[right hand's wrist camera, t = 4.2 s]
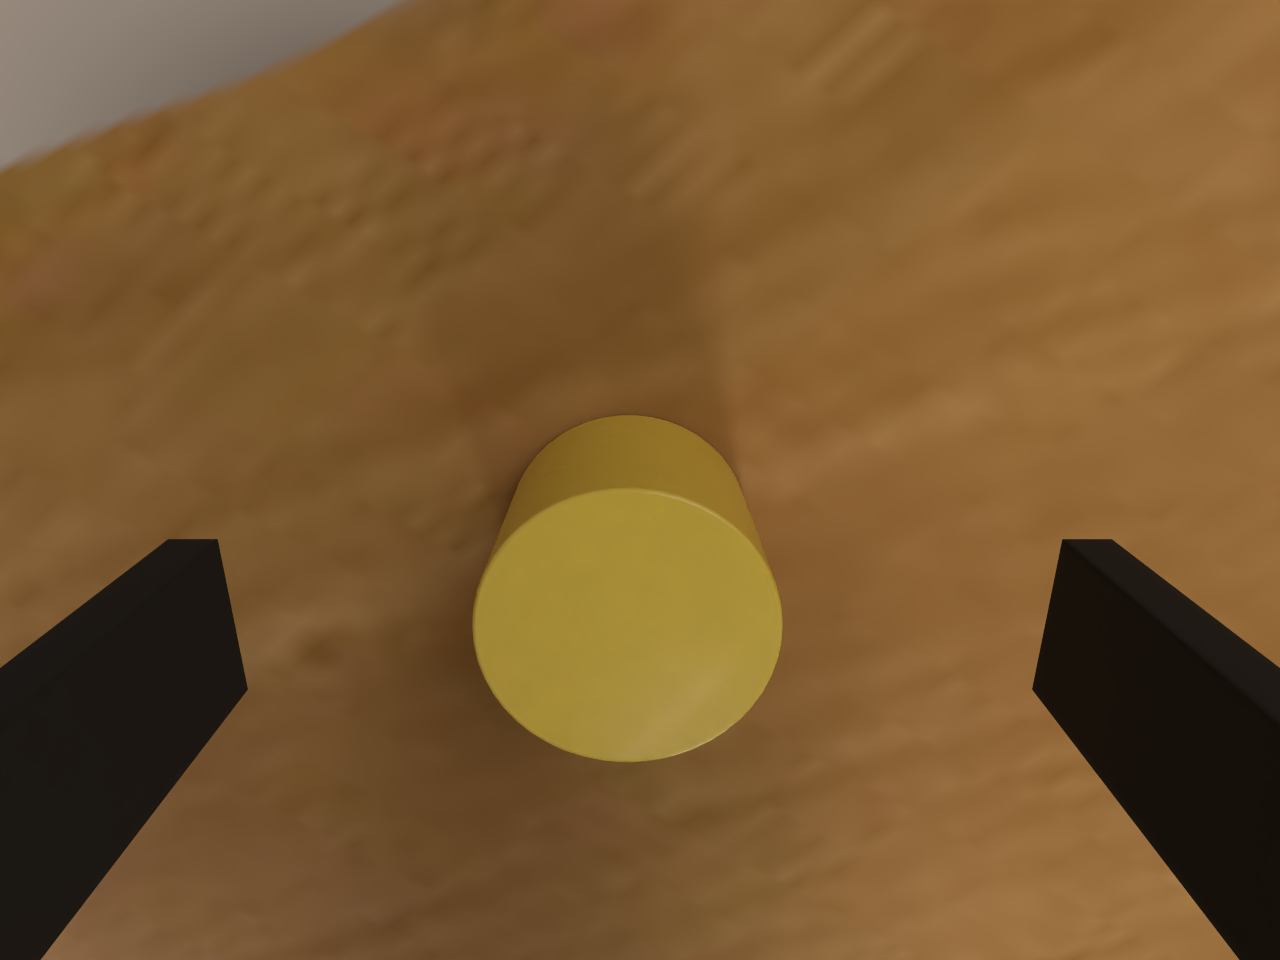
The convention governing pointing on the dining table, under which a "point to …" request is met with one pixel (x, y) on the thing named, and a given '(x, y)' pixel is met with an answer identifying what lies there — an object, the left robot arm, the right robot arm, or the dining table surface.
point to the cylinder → (627, 595)
